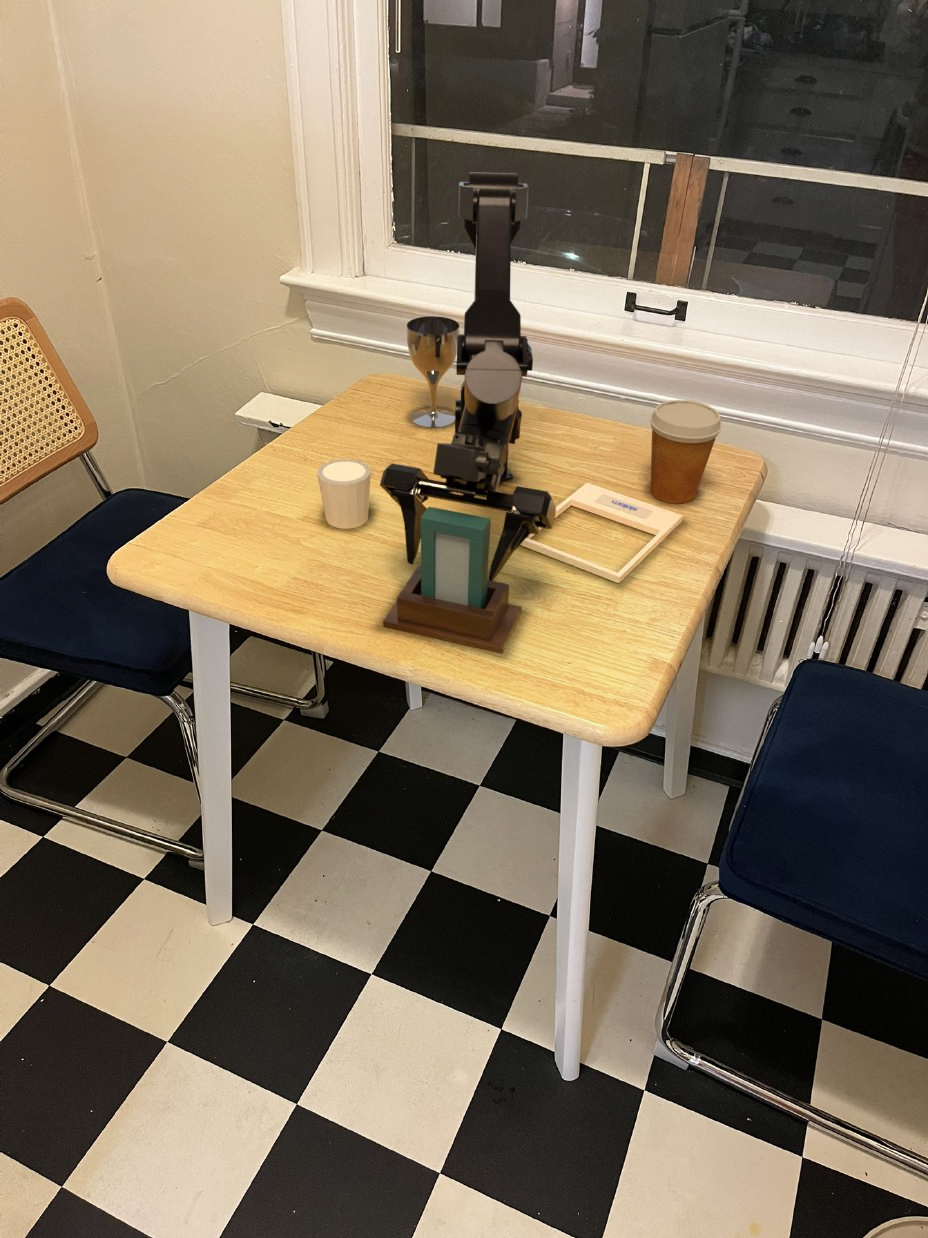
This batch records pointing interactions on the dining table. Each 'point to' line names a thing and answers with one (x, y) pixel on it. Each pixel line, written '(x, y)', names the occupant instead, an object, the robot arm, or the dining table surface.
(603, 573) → the photo frame
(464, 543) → the picture frame
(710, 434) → the disposable coffee cup
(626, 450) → the dining table surface
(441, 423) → the wine glass
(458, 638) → the frame holder
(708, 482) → the dining table surface
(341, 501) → the beige cup
